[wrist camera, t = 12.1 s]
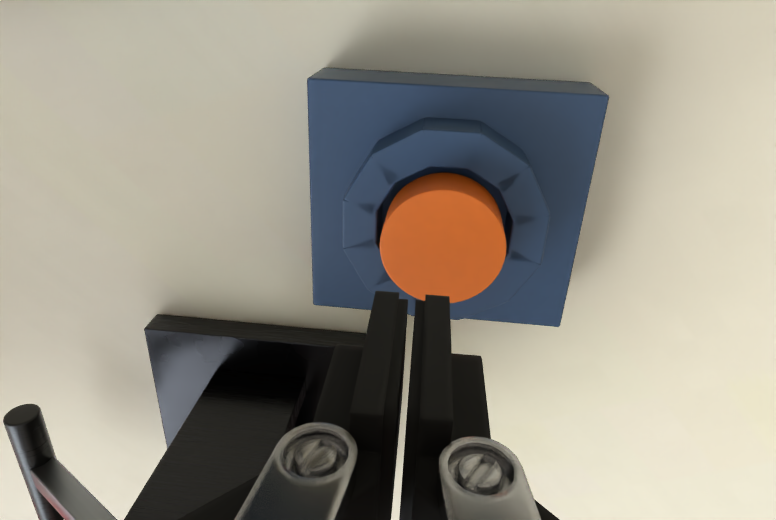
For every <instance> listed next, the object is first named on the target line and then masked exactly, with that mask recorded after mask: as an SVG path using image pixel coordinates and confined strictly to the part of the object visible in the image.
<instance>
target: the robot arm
mask: <svg viewBox="0 0 776 520" xmlns="http://www.w3.org/2000/svg"><path fill="white" fill-rule="evenodd" d="M407 312H408V299H399V292H388V291H375V296H374V300H373V305H372V310H371V315H370V319H369V324H368V329H367V334H366V338H365V343H364V346H354V345H342V344H337V345H336V346H335V349H334V352H333V355H332V359H331V362H330V366H329V369H328V372H327V376H326V379H325V383H324V386H323V390H322V393H321V396H320V400H319V403H318V407H317V410H316V414H315V417H314V421H313V423H308V424H304V425H301V426H298V427H296V428H293V429H292V430H291V431H289V432H288V433H286V434H285V435H284V436H283V437H282V438H281V440H280V441H279V442H278V443H277V445H276V447H275V449H274V450H273V452H272V454H271V456H270V457H269V459H268V461H267V463H266V465H265V466H264V468H263V470H262V472H261V473H260V474H259V475H257V476H256V477H254V478H252V479H250V480H248V481H246V482H245V483H243V484H241V485H239V486H237V487H235V488H234V489H232V490H230V491H228V492H226V493H225V494H223V495H221V496H219V497H217V498H215V499H214V500H212V501H210V502H208V503H206V504H205V505H203V506H201V507H199V508H197V509H195V510H194V511H192V512H190V513H188V514H186V515H185V516H183V517H181V518H179V519H177V520H391V512H392V501H393V490H394V479H395V468H396V458H397V447H398V436H399V425H400V414H401V403H402V389H403V374H404V358H405V343H406V327H407ZM400 520H559V519H558V518H557V517H555V516H554V515H553V514H552V513H550V512H549V511H548V510H547V509H545V508H544V507H543V506H542V505H541V504H539V503H538V502H537V501H536V500H534V498H533V495H532V492H531V489H530V487H529V484H528V481H527V478H526V475H525V473H524V470H523V467H522V465H521V463H520V461H519V460H518V458H517V456H516V455H515V454H514V453H513V452H512V451H511V450H510V449H509V448H507V447H506V446H504V445H502V444H501V443H499V442H497V441H494V440H491V437H490V428H489V419H488V410H487V401H486V392H485V383H484V374H483V365H482V358H481V356H475V355H463V354H451V327H450V297H449V296H440V295H427V294H426V296H425V301H423V300H416V305H415V317H414V330H413V343H412V356H411V369H410V382H409V395H408V408H407V421H406V435H405V449H404V463H403V477H402V492H401V506H400Z"/></svg>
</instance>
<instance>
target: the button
mask: <svg viewBox="0 0 776 520" xmlns="http://www.w3.org/2000/svg"><path fill="white" fill-rule="evenodd" d="M506 247H507V246H506V237H505V232H504V227H503V223H502V218H501V213H500V210H499V207H498V205H497V203H496V201H495V200H494V198H493V197H492V195H491V194H490V193H489V192H488V191H487V190H486V189H485V188H484V187H483V186H482V185H480V184H479V183H478V182H476V181H474V180H473V179H471V178H468V177H466V176H463V175H459V174H455V173H433V174H428V175H424V176H422V177H419V178H417V179H415V180H413V181H411V182H410V183H408V184H407V185H406V186H404V187H403V188H402V189H401V190H400V191H399V192H398V193H397V195H396V196H395V197H394V199H393V201H392V202H391V204H390V206H389V209H388V212H387V215H386V218H385V222H384V225H383V229H382V233H381V236H380V255H381V260H382V263H383V266H384V268H385V270H386V272H387V273H388V275H389V276H390V278H391V279H392V280H393V282H394V283H395V284H396V285H397V286H398V287H399V288H401V289H402V290H403V291H405V292H406V293H407V294H409V295H411V296H413V297H415V298H417V299H420V300H423V301H425V296H426V294H427V295H440V296H449V297H450V303H455V302H460V301H464V300H467V299H469V298H472V297H474V296H476V295H477V294H479V293H481V292H482V291H483V290H485V289H486V288H487V287H488V286H489V285H490V284H491V283H492V282H493V281H494V280H495V279H496V277H497V276H498V274H499V272H500V271H501V269H502V266H503V264H504V261H505V256H506Z"/></svg>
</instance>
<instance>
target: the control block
mask: <svg viewBox="0 0 776 520" xmlns="http://www.w3.org/2000/svg"><path fill="white" fill-rule="evenodd" d="M307 88H308V126H309V163H310V201H311V239H312V276H313V304H314V305H321V306H332V307H343V308H355V309H366V310H372V305H373V300H374V296H375V291H388V292H399V299H408V312H407V314H409V315H411V316H415V305H416V300H420V299H417V298H415V297H413V296H411V295H409V294H407V293H406V292H405V291H403V290H402V289H401V288H399V287H398V286H397V285H396V284H395V283H394V282H393V280H392V279H391V278H390V276H389V275H388V273H387V272H386V270H385V268H384V266H383V263H382V260H381V255H380V236H381V233H382V229H383V225H384V222H385V218H386V215H387V212H388V209H389V206H390V204H391V202H392V201H393V199H394V197H395V196H396V195H397V193H398V192H399V191H400V190H401V189H402V188H403V187H404V186H406V185H407V184H408V183H410V182H411V181H413V180H415V179H417V178H419V177H422V176H424V175H428V174H433V173H455V174H459V175H463V176H466V177H468V178H471V179H473V180H474V181H476V182H478V183H479V184H480V185H482V186H483V187H484V188H485V189H486V190H487V191H488V192H489V193H490V194H491V195H492V197H493V198H494V200H495V201H496V203H497V205H498V207H499V210H500V213H501V218H502V223H503V227H504V232H505V237H506V246H507V247H506V256H505V261H504V264H503V266H502V269H501V271H500V272H499V274H498V276H497V277H496V279H495V280H494V281H493V282H492V283H491V284H490V285H489V286H488V287H487V288H486V289H485V290H483V291H482V292H481V293H479V294H477V295H476V296H474V297H472V298H469V299H467V300H464V301H460V302H455V303H450V319H453V320H460V319H464V318H466V319H477V320H488V321H499V322H510V323H521V324H532V325H544V326H555V327H559V326H560V323H561V318H562V313H563V309H564V304H565V300H566V295H567V290H568V286H569V281H570V276H571V272H572V267H573V262H574V258H575V253H576V249H577V244H578V239H579V235H580V230H581V225H582V221H583V216H584V211H585V207H586V202H587V197H588V193H589V188H590V184H591V179H592V174H593V170H594V165H595V160H596V156H597V151H598V146H599V142H600V137H601V133H602V128H603V123H604V119H605V114H606V109H607V105H608V100H609V95H607V94H606V93H604V92H603V91H601V90H600V89H599V88H597V87H596V86H594V85H593V84H591V83H590V82H572V81H554V80H536V79H519V78H501V77H483V76H465V75H447V74H429V73H411V72H394V71H376V70H358V69H340V68H323V69H322V70H320V71H319V72H317V73H315V74H314V75H312V76H311V77H309V78H308V79H307Z"/></svg>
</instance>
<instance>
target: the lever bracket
mask: <svg viewBox="0 0 776 520" xmlns="http://www.w3.org/2000/svg"><path fill="white" fill-rule="evenodd" d="M144 330H145V335H146V341H147V346H148V351H149V356H150V361H151V366H152V372H153V377H154V382H155V387H156V392H157V397H158V402H159V408H160V413H161V418H162V423H163V428H164V433H165V439H166V444H167V451H166V452H165V454H164V456H163V457H162V459H161V460H160V462H159V464H158V465H157V467H156V469H155V470H154V472H153V473H152V475H151V477H150V478H149V480H148V481H147V483H146V485H145V486H144V488H143V490H142V491H141V493H140V494H139V496H138V498H137V499H136V501H135V503H134V504H133V506H132V507H131V509H130V511H129V512H128V514H127V516H126V517H125V519H124V520H177V519H179V518H181V517H183V516H185V515H186V514H188V513H190V512H192V511H194V510H195V509H197V508H199V507H201V506H203V505H205V504H206V503H208V502H210V501H212V500H214V499H215V498H217V497H219V496H221V495H223V494H225V493H226V492H228V491H230V490H232V489H234V488H235V487H237V486H239V485H241V484H243V483H245V482H246V481H248V480H250V479H252V478H254V477H256V476H257V475H259V474H260V473H261V472H262V470H263V468H264V466H265V465H266V463H267V461H268V459H269V457H270V456H271V454H272V452H273V450H274V449H275V447H276V445H277V443H278V442H279V441H280V440H281V438H282V437H283V436H284V435H285V434H286V433H288V432H289V431H291V430H292V429H293V428H296V427H298V426H301V425H304V424H308V423H313V421H314V417H315V414H316V410H317V407H318V403H319V400H320V396H321V393H322V390H323V386H324V383H325V379H326V376H327V372H328V369H329V366H330V362H331V359H332V355H333V352H334V349H335V346H336V345H337V344H342V345H354V346H364V343H365V338H366V334H362V333H352V332H341V331H330V330H320V329H309V328H298V327H287V326H277V325H266V324H255V323H245V322H234V321H223V320H212V319H202V318H191V317H180V316H170V315H159V314H157V315H156V316H155V317H154V318H153V319H152V321H151V322H150V323H149V324H148V325H147V326H146V327H145V329H144Z"/></svg>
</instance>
